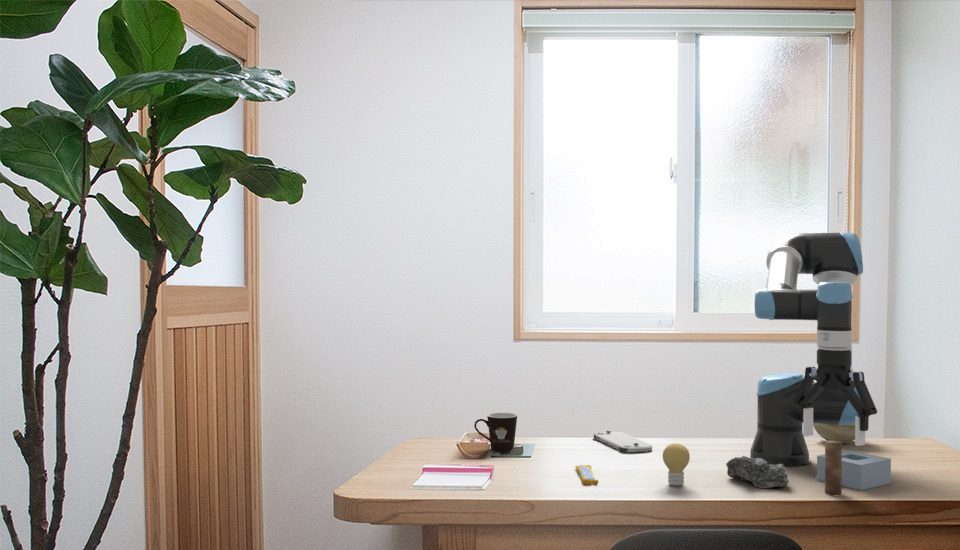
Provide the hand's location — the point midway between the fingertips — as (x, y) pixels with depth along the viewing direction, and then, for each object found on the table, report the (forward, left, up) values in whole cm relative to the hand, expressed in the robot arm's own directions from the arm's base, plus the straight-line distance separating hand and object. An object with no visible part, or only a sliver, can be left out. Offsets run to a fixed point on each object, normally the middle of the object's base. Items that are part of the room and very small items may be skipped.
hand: (833, 440), depth 206 cm
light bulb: (-35, -7, -13) cm, 38 cm away
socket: (+4, +14, -13) cm, 20 cm away
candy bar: (-57, -8, -13) cm, 59 cm away
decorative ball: (-1, +61, -13) cm, 63 cm away
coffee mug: (-90, +12, -13) cm, 92 cm away
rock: (-17, +3, -13) cm, 21 cm away
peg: (0, 0, -13) cm, 13 cm away
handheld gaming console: (-59, +33, -13) cm, 69 cm away
